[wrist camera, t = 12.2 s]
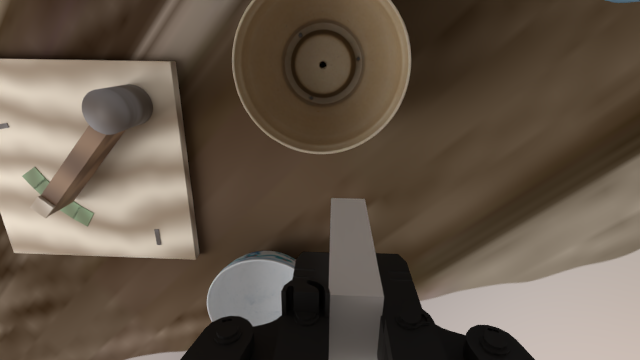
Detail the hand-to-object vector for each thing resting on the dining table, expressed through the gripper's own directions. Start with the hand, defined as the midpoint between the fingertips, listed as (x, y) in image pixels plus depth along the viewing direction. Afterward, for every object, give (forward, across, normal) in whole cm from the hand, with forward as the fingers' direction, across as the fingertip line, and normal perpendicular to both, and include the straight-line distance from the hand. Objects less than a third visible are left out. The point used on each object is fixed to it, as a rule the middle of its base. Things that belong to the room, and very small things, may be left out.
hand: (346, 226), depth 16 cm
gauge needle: (+27, -30, -4) cm, 41 cm away
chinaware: (+30, -9, -24) cm, 39 cm away
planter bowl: (+30, -2, +6) cm, 30 cm away
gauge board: (+29, -33, -8) cm, 45 cm away
